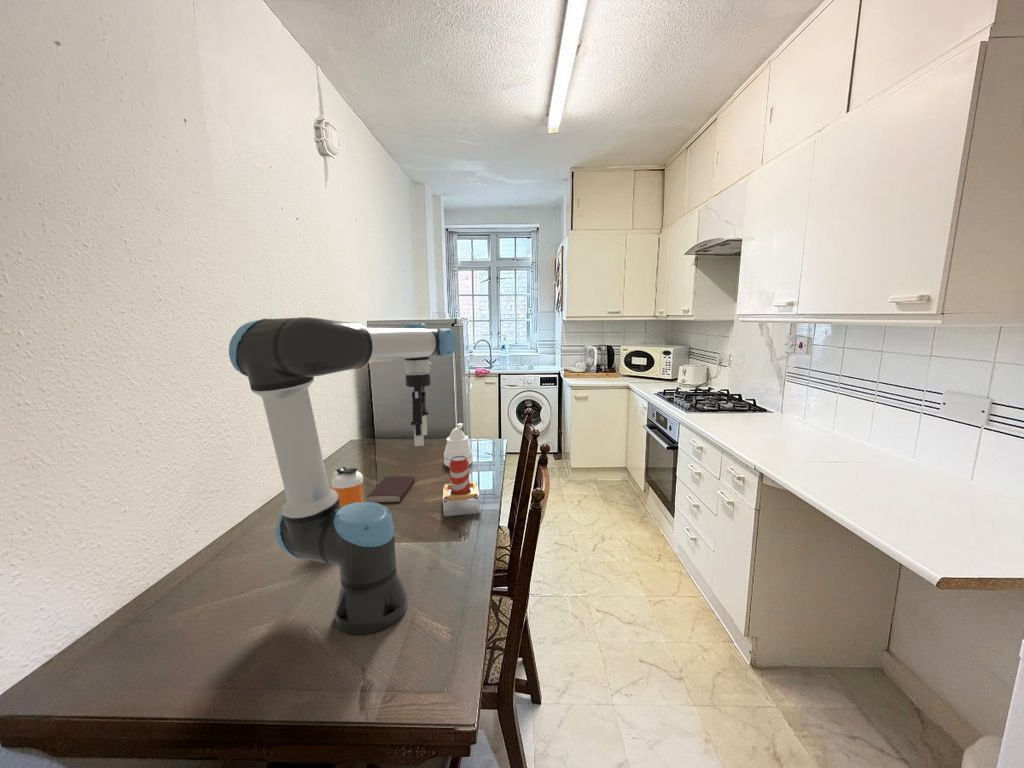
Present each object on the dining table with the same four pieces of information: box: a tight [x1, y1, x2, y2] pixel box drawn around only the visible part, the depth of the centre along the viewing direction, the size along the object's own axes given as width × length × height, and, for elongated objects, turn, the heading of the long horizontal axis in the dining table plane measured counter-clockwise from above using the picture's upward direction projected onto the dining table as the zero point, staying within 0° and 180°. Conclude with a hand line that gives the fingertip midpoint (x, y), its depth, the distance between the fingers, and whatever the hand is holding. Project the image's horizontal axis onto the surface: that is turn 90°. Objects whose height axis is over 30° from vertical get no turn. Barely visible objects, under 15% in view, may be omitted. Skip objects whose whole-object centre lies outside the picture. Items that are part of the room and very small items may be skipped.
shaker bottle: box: [331, 466, 364, 508], centre depth 129 cm, size 9×9×20 cm
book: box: [367, 475, 416, 503], centre depth 161 cm, size 12×19×3 cm, turn 178°
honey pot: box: [443, 422, 474, 468], centre depth 191 cm, size 13×13×18 cm
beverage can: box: [449, 456, 470, 494], centre depth 145 cm, size 6×6×12 cm
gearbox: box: [442, 481, 481, 517], centre depth 146 cm, size 14×12×6 cm
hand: (421, 440), depth 134 cm, fingers open, 13 cm apart
